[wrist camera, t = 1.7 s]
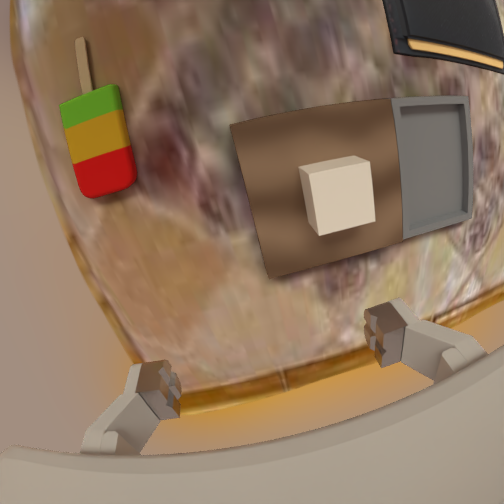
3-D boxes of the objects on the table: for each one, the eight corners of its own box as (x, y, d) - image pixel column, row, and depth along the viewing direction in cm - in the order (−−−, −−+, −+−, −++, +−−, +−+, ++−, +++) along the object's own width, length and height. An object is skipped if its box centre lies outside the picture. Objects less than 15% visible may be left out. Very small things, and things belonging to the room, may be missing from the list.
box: (382, 98, 24) (391, 98, 22) (458, 95, 24) (467, 96, 22) (395, 233, 30) (403, 239, 28) (463, 213, 30) (471, 218, 28)
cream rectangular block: (298, 166, 24) (308, 174, 21) (353, 155, 24) (369, 161, 21) (308, 222, 26) (318, 236, 24) (360, 209, 26) (375, 221, 23)
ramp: (229, 124, 24) (230, 125, 22) (379, 98, 24) (390, 98, 22) (265, 268, 30) (268, 279, 28) (393, 234, 30) (402, 241, 28)
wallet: (494, -22, 15) (516, 81, 21) (486, -20, 16) (506, 80, 23) (365, -72, 14) (396, 51, 21) (358, -65, 16) (386, 53, 22)
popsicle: (89, 197, 25) (81, 203, 24) (58, 51, 19) (49, 48, 17) (142, 182, 25) (136, 187, 24) (110, 28, 19) (103, 23, 17)
